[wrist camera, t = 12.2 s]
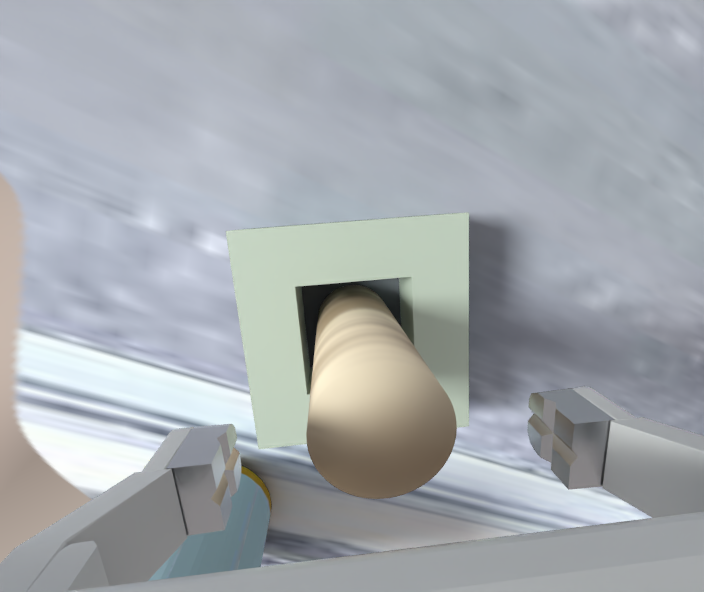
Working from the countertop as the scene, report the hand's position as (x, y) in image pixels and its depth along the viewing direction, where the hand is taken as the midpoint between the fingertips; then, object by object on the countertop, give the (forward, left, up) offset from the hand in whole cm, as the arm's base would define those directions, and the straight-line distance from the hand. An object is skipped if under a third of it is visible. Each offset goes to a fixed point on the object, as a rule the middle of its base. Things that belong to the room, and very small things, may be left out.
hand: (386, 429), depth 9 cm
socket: (0, 0, -13) cm, 13 cm away
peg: (+1, 0, -13) cm, 13 cm away
